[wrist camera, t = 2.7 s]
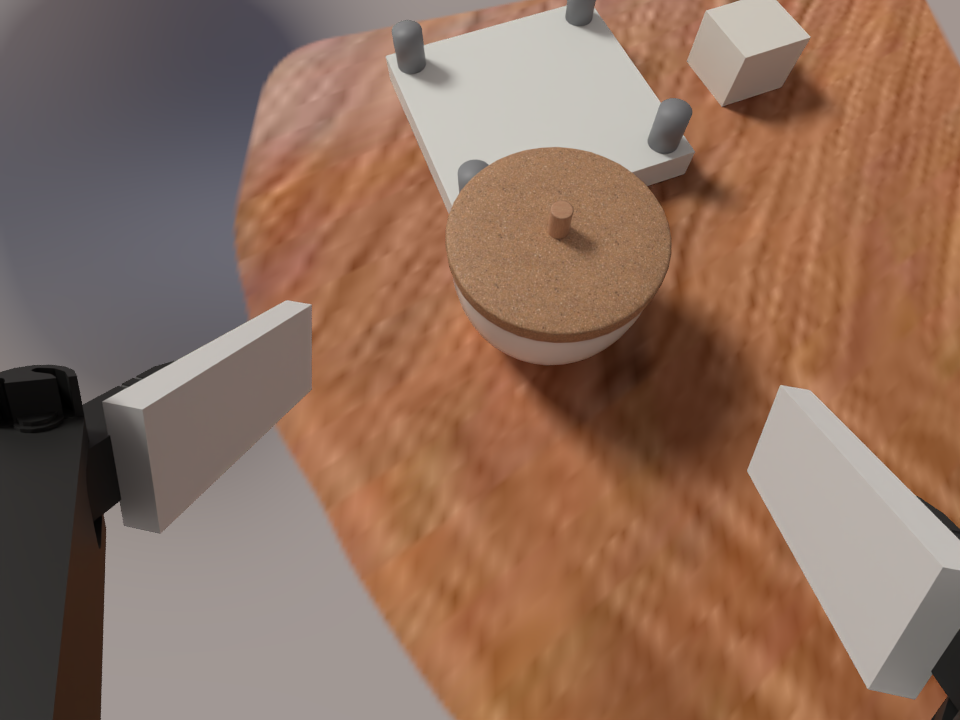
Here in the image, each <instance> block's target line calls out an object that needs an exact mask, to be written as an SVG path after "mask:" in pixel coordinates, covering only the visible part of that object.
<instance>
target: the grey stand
mask: <svg viewBox="0 0 960 720" xmlns="http://www.w3.org/2000/svg"><path fill="white" fill-rule="evenodd" d="M595 1H596V0H567V6H564V7H560V8H556V9H553V10H549V11H546V12H542V13H538V14H535V15H531V16H528V17H524V18H520V19H517V20H513V21H510V22H506V23H502V24H499V25H495V26H492V27H488V28H484V29H481V30H477V31H474V32H470V33H466V34H463V35H459V36H456V37H452V38H448V39H445V40H441V41H438V42H434V43H430V44H427V45H424V44H423V36H422V28H421V26H420V24H418V23H417V22H415V21H411V20H405V21H401V22H398V23H397V24H395V25H394V26H393V28H392V36H393V42H394V47H395V53H394V54H391V55H387V56H386V60H387V65H388V70H389V75H390V80H391V82H392V85H393V87H394V89H395V92H396V94H397V96H398V98H399V101H400V103H401V105H402V108H403V110H404V112H405V114H406V117H407V119H408V121H409V124H410V126H411V128H412V130H413V133H414V135H415V137H416V140H417V142H418V144H419V147H420V149H421V151H422V153H423V156H424V158H425V160H426V163H427V165H428V167H429V169H430V172H431V174H432V176H433V179H434V181H435V183H436V185H437V188H438V190H439V192H440V195H441V197H442V199H443V202H444V204H445V206H446V208H447V211H448V213H450V211H451V208H452V206H453V203H454V201H455V200H456V198H457V196H458V195H459V193H460V191H461V190H462V189H463V188H464V186H465V185H466V184H467V183H468V182H469V181H470V180H471V179H472V178H473V177H474V176H475V175H476V174H478V173H479V172H480V171H481V170H482V169H484V168H485V167H487V166H489V165H490V164H492V163H493V162H495V161H497V160H499V159H501V158H504V157H506V156H508V155H511V154H514V153H517V152H521V151H524V150H529V149H536V148H546V147H563V148H573V149H579V150H584V151H589V152H592V153H595V154H598V155H600V156H603V157H606V158H608V159H610V160H612V161H614V162H616V163H618V164H620V165H622V166H623V167H625V168H626V169H628V170H629V171H630V172H632V173H633V174H634V175H636V176H637V177H638V178H639V179H640V180H641V181H643V182H644V183H645V184H646V186H649V185H652V184H655V183H658V182H661V181H664V180H667V179H671V178H674V177H677V176H680V175H683V174H685V172H686V170H687V168H688V166H689V164H690V162H691V159H692V157H693V155H694V153H695V151H694V150H693V148H692V147H691V145H690V144H689V142H688V141H687V140H686V138H685V137H684V135H683V134H684V132H685V129H686V127H687V125H688V123H689V120H690V118H691V116H692V108H691V107H690V105H689V104H688V103H687V102H685V101H683V100H681V99H676V98H671V99H667V100H665V101H663V102H662V103H661V102H660V101H659V100H658V98H657V97H656V95H655V94H654V92H653V91H652V90H651V88H650V87H649V85H648V84H647V82H646V81H645V79H644V78H643V77H642V75H641V74H640V72H639V71H638V69H637V68H636V67H635V65H634V64H633V62H632V61H631V59H630V58H629V57H628V55H627V54H626V52H625V51H624V49H623V48H622V47H621V45H620V44H619V42H618V41H617V39H616V38H615V37H614V35H613V34H612V32H611V31H610V29H609V28H608V27H607V25H606V24H605V22H604V21H603V19H602V18H601V17H600V15H599V14H598V12H597V11H596V9H595V8H594V6H595Z"/></svg>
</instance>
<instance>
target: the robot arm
mask: <svg viewBox="0 0 960 720" xmlns="http://www.w3.org/2000/svg"><path fill="white" fill-rule="evenodd" d="M311 390H312V305H311V304H305V303H299V302H293V301H288V300H286V301H284V302H283V303H281V304H279V305H277V306H275V307H274V308H272V309H270V310H268V311H266V312H264V313H263V314H261V315H259V316H257V317H255V318H253V319H252V320H250V321H248V322H246V323H244V324H243V325H241V326H239V327H237V328H235V329H234V330H232V331H230V332H228V333H226V334H225V335H223V336H221V337H219V338H217V339H215V340H214V341H212V342H210V343H208V344H207V345H205V346H202V347H201V348H199V349H197V350H195V351H193V352H192V353H190V354H188V355H186V356H184V357H182V358H181V359H179V360H176V361H172V362H169V363H165V364H162V365H159V366H155V367H153V368H151V369H149V370H147V371H145V372H143V373H141V374H140V375H138V376H137V377H136V379H135V378H132V379H130V380H128V381H126V382H125V383H123V384H122V386H121V387H120V386H117V387H115V388H113V389H111V390H110V391H108V392H106V393H104V394H102V395H100V396H98V397H96V398H95V399H93V400H91V401H89V402H87V403H85V404H83V405H82V401H81V396H80V390H79V386H78V380H77V376H76V373H75V371H74V370H72V369H69V368H67V367H64V366H56V365H32V366H25V367H19V368H13V369H10V370H6V371H2V372H0V720H101V718H100V717H101V686H102V684H101V683H102V652H103V651H102V650H103V619H104V617H103V616H104V583H105V550H106V526H105V521H104V515H103V514H104V513H105V512H106V511H108V510H109V509H110V508H111V507H113V506H114V505H115V504H116V503H118V502H119V501H120V506H121V512H122V517H123V523H124V526H127V527H132V528H136V529H141V530H146V531H150V532H155V533H159V534H160V533H161V532H162V531H163V530H165V529H166V528H167V527H168V526H169V525H170V524H171V523H172V522H173V521H174V520H175V519H176V518H177V517H178V516H179V515H180V514H181V513H183V511H185V510H186V509H187V508H188V507H189V506H190V505H191V504H192V503H193V502H194V501H195V500H196V499H197V498H198V497H199V496H200V495H201V494H202V493H204V492H205V491H206V490H207V489H208V488H209V487H210V486H211V485H212V484H213V483H214V482H215V481H216V480H217V479H218V478H219V477H220V476H221V475H222V474H223V473H225V472H226V470H228V469H229V468H230V467H231V466H232V465H233V464H234V463H235V462H236V461H237V460H238V459H239V458H240V457H241V456H242V455H243V454H244V453H245V452H246V451H248V450H249V449H250V448H251V447H252V446H253V445H254V444H255V443H256V442H257V441H258V440H259V439H260V438H261V437H262V436H263V435H264V434H265V433H267V432H268V431H269V430H270V429H271V428H272V427H273V426H274V425H275V424H276V423H277V422H278V421H279V420H280V419H281V418H282V417H283V416H284V415H285V414H286V413H288V412H289V411H290V410H291V409H292V408H293V407H294V406H295V405H296V404H297V403H298V402H299V401H300V400H301V399H302V398H303V397H304V396H305V395H306V394H307V393H309V392H310V391H311ZM747 472H748V474H749V475H750V477H751V479H752V481H753V483H754V484H755V486H756V488H757V490H758V492H759V493H760V495H761V497H762V499H763V501H764V502H765V504H766V506H767V508H768V510H769V512H770V513H771V515H772V517H773V519H774V521H775V522H776V524H777V526H778V528H779V530H780V531H781V533H782V535H783V537H784V539H785V540H786V542H787V544H788V546H789V548H790V549H791V551H792V553H793V555H794V557H795V558H796V560H797V562H798V564H799V566H800V567H801V569H802V571H803V573H804V575H805V576H806V578H807V580H808V582H809V584H810V585H811V587H812V589H813V591H814V593H815V594H816V596H817V598H818V600H819V602H820V603H821V605H822V607H823V609H824V611H825V612H826V614H827V616H828V618H829V620H830V621H831V623H832V625H833V627H834V629H835V630H836V632H837V634H838V636H839V638H840V640H841V641H842V643H843V645H844V647H845V649H846V650H847V652H848V654H849V656H850V658H851V659H852V661H853V663H854V665H855V667H856V668H857V670H858V672H859V674H860V676H861V677H862V679H863V681H864V683H865V685H866V686H867V688H868V689H870V690H874V691H879V692H883V693H888V694H892V695H897V696H901V697H906V698H911V699H916V698H917V696H918V695H919V693H920V692H921V690H922V689H923V687H924V686H925V684H926V683H927V681H928V680H929V678H930V677H931V675H932V674H933V675H934V677H935V678H936V680H937V681H938V683H939V684H940V685H941V687H942V688H943V690H944V691H945V693H946V694H947V696H948V697H947V698H946V699H945V701H944V702H943V704H942V705H941V706H940V708H939V709H938V711H937V712H936V714H935V715H934V716H933V718H932V719H931V720H960V529H959V528H958V527H957V526H956V525H955V524H954V523H953V522H952V521H951V520H950V519H949V518H948V517H947V516H946V515H945V514H943V513H942V512H940V511H939V510H937V509H936V508H934V507H933V506H931V505H930V504H928V503H927V502H925V501H924V500H922V499H921V498H919V497H918V496H915V495H914V494H913V493H912V492H911V491H910V490H909V489H908V488H907V487H906V486H905V485H904V484H903V483H902V482H901V481H900V480H899V479H898V478H897V477H896V476H895V475H894V474H893V473H892V472H891V471H890V470H889V469H888V468H887V467H886V466H885V465H884V464H883V463H882V462H881V461H880V460H879V459H878V458H877V457H876V456H875V455H874V454H873V453H872V452H871V451H870V450H869V449H868V448H867V447H866V446H865V445H864V444H863V443H862V442H861V441H860V440H859V439H858V438H857V437H856V436H855V435H854V434H853V433H852V432H851V431H850V430H849V429H848V428H847V427H846V426H845V425H844V424H843V423H842V422H841V421H840V420H839V419H838V418H837V417H836V416H835V415H834V414H833V413H832V412H831V411H830V410H829V409H828V408H827V407H826V406H825V405H824V404H823V403H822V402H821V401H820V400H819V399H818V398H817V397H816V396H815V395H814V394H813V393H812V392H811V391H810V390H806V389H800V388H794V387H788V386H783V385H780V387H779V390H778V392H777V395H776V398H775V400H774V403H773V405H772V408H771V411H770V413H769V416H768V418H767V421H766V423H765V426H764V429H763V431H762V434H761V436H760V439H759V442H758V444H757V447H756V449H755V452H754V454H753V457H752V460H751V462H750V465H749V467H748V470H747Z"/></svg>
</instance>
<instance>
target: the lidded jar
mask: <svg viewBox="0 0 960 720" xmlns="http://www.w3.org/2000/svg"><path fill="white" fill-rule="evenodd" d="M446 252H447V257H448V263H449V267H450V270H451V273H452V276H453V281H454V285H455V289H456V292H457V295H458V297H459V300H460V303H461V305H462V308H463V310H464V312H465V313H466V315H467V317H468V318H469V320H470V322H471V323H472V325H473V326H474V327H475V329H476V330H477V331H478V332H479V333H480V335H481V336H482V337H483V338H484V339H485V340H487V341H488V342H489V343H490V344H491V345H492V346H494V347H495V348H497V349H498V350H500V351H502V352H503V353H505V354H507V355H509V356H511V357H514V358H516V359H518V360H521V361H525V362H529V363H532V364H541V365H562V364H568V363H574V362H578V361H581V360H584V359H587V358H590V357H591V356H593V355H595V354H597V353H599V352H601V351H603V350H604V349H606V348H607V347H609V346H610V345H611V344H613V343H614V342H615V341H617V340H618V339H619V338H620V337H621V336H622V335H623V334H624V333H625V332H626V331H627V330H628V329H629V328H630V327H631V326H632V325H633V324H634V323H635V321H636V320H637V318H638V317H639V316H640V314H641V313H642V311H643V309H644V308H645V307H646V306H647V305H648V304H649V303H650V302H651V300H652V299H653V297H654V296H655V294H656V292H657V291H658V289H659V288H660V286H661V284H662V282H663V280H664V278H665V275H666V273H667V270H668V267H669V262H670V257H671V234H670V229H669V224H668V221H667V218H666V216H665V213H664V211H663V209H662V207H661V205H660V204H659V202H658V200H657V199H656V197H655V195H654V194H653V193H652V192H651V191H650V189H649V188H648V187H647V186H646V184H645V183H644V182H643V181H641V180H640V179H639V178H638V177H637V176H636V175H634V174H633V173H632V172H630V171H629V170H628V169H626V168H625V167H623V166H622V165H620V164H618V163H616V162H614V161H612V160H610V159H608V158H606V157H603V156H600V155H598V154H595V153H592V152H589V151H584V150H579V149H573V148H563V147H546V148H536V149H529V150H524V151H521V152H517V153H514V154H511V155H508V156H506V157H504V158H501V159H499V160H497V161H495V162H493V163H492V164H490V165H489V166H487V167H485V168H484V169H482V170H481V171H480V172H479V173H478V174H476V175H475V176H474V177H473V178H472V179H471V180H470V181H469V182H468V183H467V184H466V185H465V186H464V188H463V189H462V190H461V191H460V193H459V195H458V196H457V198H456V200H455V201H454V203H453V206H452V208H451V211H450V213H449V216H448V221H447V226H446Z"/></svg>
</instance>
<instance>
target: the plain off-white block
mask: <svg viewBox="0 0 960 720" xmlns="http://www.w3.org/2000/svg"><path fill="white" fill-rule="evenodd" d="M810 38H811V37H810V36H809V35H808V34H807V33H806V32H805V31H804V29H803V28H802V27H801V26H800V25H799V24H798V23H797V22H796V21H795V20H794V19H793V18H792V17H791V16H790V14H789V13H788V12H787V11H786V10H785V9H784V8H783V7H782V6H781V5H780V4H779V3H778V2H777V1H776V0H740V1H737V2H734V3H730V4H727V5H724V6H720V7H717V8H714V9H710V10H707V11H706V12H705V14H704V17H703V20H702V22H701V25H700V28H699V30H698V33H697V36H696V38H695V41H694V44H693V46H692V49H691V52H690V54H689V57H688V60H687V62H688V64H689V65H690V66H691V68H692V69H693V70H694V71H695V73H696V74H697V75H698V77H699V78H700V79H701V80H702V82H703V83H704V84H705V86H706V87H707V88H708V90H709V91H710V92H711V93H712V95H713V96H714V97H715V99H716V100H717V101H718V102H719V104H720V105H721V106H725V105H728V104H731V103H735V102H738V101H741V100H744V99H747V98H750V97H753V96H756V95H759V94H762V93H765V92H768V91H771V90H774V89H778V88H781V87H782V85H783V84H784V82H785V80H786V79H787V77H788V75H789V73H790V72H791V70H792V68H793V67H794V65H795V63H796V62H797V60H798V58H799V57H800V55H801V53H802V51H803V50H804V48H805V46H806V45H807V43H808V41H809V40H810Z"/></svg>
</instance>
